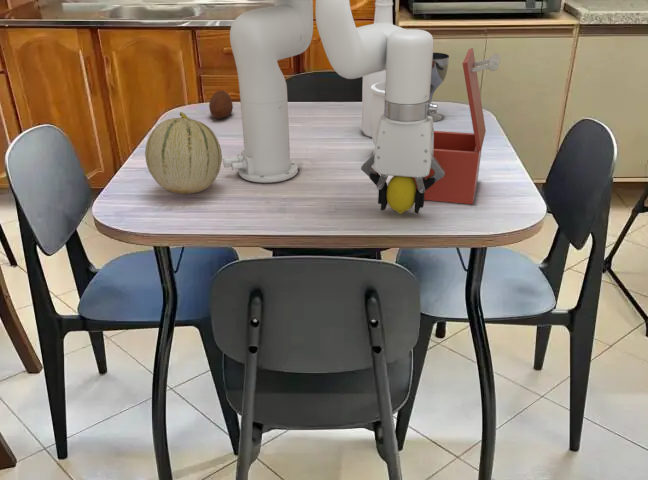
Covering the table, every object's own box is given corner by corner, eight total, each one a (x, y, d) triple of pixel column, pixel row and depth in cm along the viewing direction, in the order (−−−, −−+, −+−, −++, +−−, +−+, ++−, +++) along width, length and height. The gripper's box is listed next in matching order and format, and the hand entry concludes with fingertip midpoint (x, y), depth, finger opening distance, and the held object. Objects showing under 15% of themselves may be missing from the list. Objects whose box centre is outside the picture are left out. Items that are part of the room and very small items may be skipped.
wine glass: (448, 115, 177) (454, 54, 168) (436, 123, 172) (441, 60, 163) (420, 111, 181) (425, 51, 172) (407, 119, 175) (411, 57, 167)
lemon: (380, 210, 128) (382, 169, 123) (407, 206, 129) (410, 165, 125) (392, 221, 123) (394, 179, 119) (420, 217, 125) (423, 175, 120)
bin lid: (462, 63, 116) (495, 55, 114) (468, 49, 125) (499, 41, 123) (476, 151, 124) (508, 145, 121) (481, 132, 133) (511, 126, 131)
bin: (396, 197, 133) (398, 147, 127) (405, 176, 142) (408, 128, 136) (472, 204, 129) (478, 153, 124) (477, 182, 139) (483, 133, 133)
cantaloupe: (155, 210, 130) (142, 131, 121) (148, 183, 141) (136, 109, 133) (231, 200, 133) (223, 123, 124) (218, 174, 145) (211, 102, 136)
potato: (206, 123, 175) (204, 97, 172) (213, 110, 185) (211, 85, 181) (230, 122, 175) (227, 97, 171) (235, 110, 185) (233, 85, 181)
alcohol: (395, 139, 162) (402, -1, 145) (359, 137, 163) (361, -1, 146) (398, 128, 169) (405, -7, 152) (363, 126, 170) (366, -7, 153)
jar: (412, 164, 148) (417, 93, 139) (365, 162, 149) (367, 91, 141) (416, 148, 156) (421, 80, 147) (372, 146, 158) (374, 79, 149)
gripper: (459, 106, 116) (449, 205, 127) (361, 101, 120) (359, 197, 131) (454, 119, 110) (444, 221, 121) (352, 112, 114) (350, 212, 125)
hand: (400, 208), depth 126 cm, fingers closed on lemon, 5 cm apart
